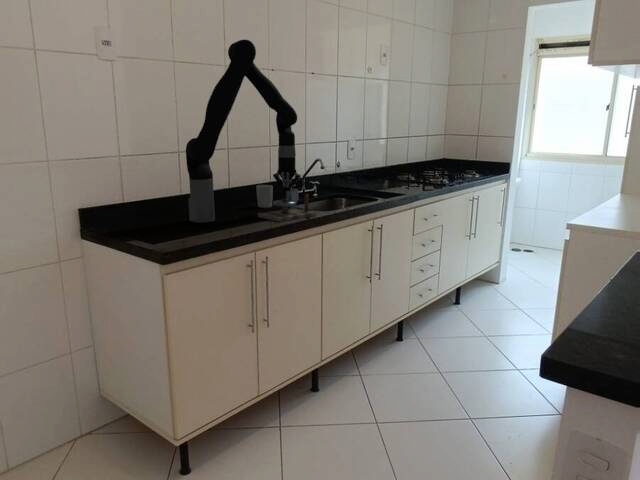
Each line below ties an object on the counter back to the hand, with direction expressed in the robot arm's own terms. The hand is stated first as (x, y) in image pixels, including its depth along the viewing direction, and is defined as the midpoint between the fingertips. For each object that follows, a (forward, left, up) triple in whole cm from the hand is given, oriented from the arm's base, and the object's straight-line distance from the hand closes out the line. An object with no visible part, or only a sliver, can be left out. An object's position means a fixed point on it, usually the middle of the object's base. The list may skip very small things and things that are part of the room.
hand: (286, 195), depth 220 cm
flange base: (-6, -8, -8) cm, 12 cm away
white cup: (+2, +20, -8) cm, 22 cm away
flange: (-4, -6, -2) cm, 8 cm away
